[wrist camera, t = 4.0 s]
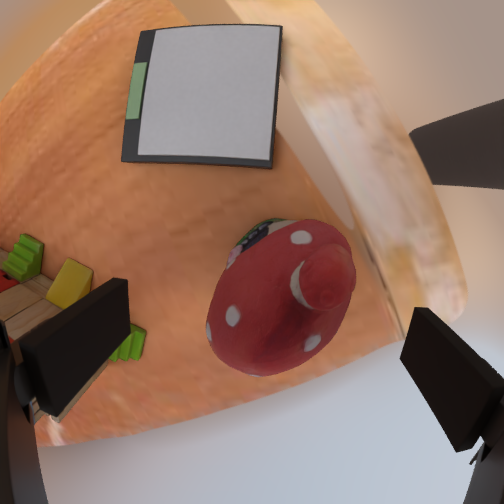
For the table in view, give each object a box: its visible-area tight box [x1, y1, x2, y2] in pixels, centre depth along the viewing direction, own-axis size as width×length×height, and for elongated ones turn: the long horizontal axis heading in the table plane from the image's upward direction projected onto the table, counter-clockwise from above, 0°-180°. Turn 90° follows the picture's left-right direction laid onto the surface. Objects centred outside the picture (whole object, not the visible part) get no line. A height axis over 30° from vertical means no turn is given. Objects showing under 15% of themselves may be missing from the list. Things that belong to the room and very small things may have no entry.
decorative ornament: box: [206, 218, 356, 377], centre depth 18 cm, size 9×6×15 cm
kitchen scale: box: [121, 24, 283, 169], centre depth 21 cm, size 12×12×3 cm
